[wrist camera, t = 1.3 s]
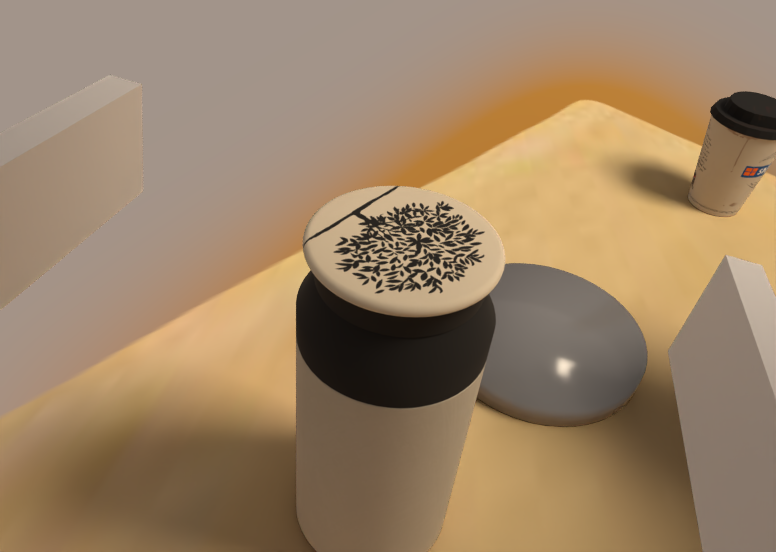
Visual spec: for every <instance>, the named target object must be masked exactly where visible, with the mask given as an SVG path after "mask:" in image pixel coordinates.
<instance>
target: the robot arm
mask: <svg viewBox="0 0 776 552" xmlns="http://www.w3.org/2000/svg"><path fill="white" fill-rule="evenodd" d="M142 131H143V130H142V84H140V83H136V82H133V81H129V80H126V79H123V78H119V77H116V76H112V75H109V76H107V77H105V78H103V79H101V80H100V81H97V82H96V83H94V84H92V85H90V86H88V87H86V88H84V89H82V90H80V91H78V92H77V93H75V94H73V95H71V96H69V97H67V98H65V99H63V100H61V101H59V102H57V103H56V104H54V105H52V106H50V107H48V108H46V109H44V110H42V111H40V112H39V113H37V114H35V115H33V116H31V117H29V118H27V119H25V120H23V121H21V122H20V123H18V124H16V125H14V126H12V127H10V128H8V129H6V130H4V131H2V132H1V133H0V310H1V309H2V308H4V307H5V306H6V305H7V304H8V303H10V302H11V301H12V300H13V299H14V298H16V297H17V296H18V295H19V294H20V293H22V292H23V291H24V290H25V289H26V288H28V287H29V286H30V285H31V284H32V283H33V282H35V281H36V280H37V279H38V278H40V277H41V276H42V275H43V274H44V273H46V272H47V271H48V270H49V269H50V268H52V267H53V266H54V265H55V264H56V263H58V262H59V261H60V260H61V259H62V258H63V257H65V256H66V255H67V254H68V253H70V252H71V251H72V250H73V249H74V248H76V247H77V246H78V245H79V244H80V243H81V242H83V241H84V240H85V239H86V238H88V237H89V236H90V235H91V234H92V233H94V232H95V231H96V230H97V229H98V228H100V227H101V226H102V225H103V224H104V223H106V222H107V221H108V220H109V219H110V218H112V217H113V216H114V215H115V214H116V213H118V212H119V211H120V210H121V209H122V208H123V207H125V206H126V205H127V204H128V203H129V202H131V201H132V200H133V199H134V198H136V197H137V196H138V195H139V194H140V193H142V192H143V138H142V137H143V132H142ZM668 355H669V360H670V366H671V372H672V378H673V383H674V389H675V395H676V401H677V407H678V412H679V418H680V424H681V430H682V435H683V441H684V447H685V453H686V459H687V464H688V470H689V476H690V482H691V487H692V493H693V499H694V505H695V511H696V516H697V522H698V528H699V534H700V539H701V545H702V551H703V552H776V297H775V295H774V292H773V290H772V287H771V285H770V283H769V280H768V278H767V276H766V273H765V271H764V269H763V266H762V265H759V264H756V263H752V262H749V261H745V260H742V259H738V258H735V257H732V256H728V255H725V257H724V258H723V260H722V262H721V263H720V265H719V267H718V268H717V270H716V272H715V273H714V275H713V277H712V278H711V280H710V282H709V283H708V285H707V287H706V288H705V290H704V292H703V293H702V295H701V297H700V298H699V300H698V302H697V303H696V305H695V307H694V308H693V310H692V312H691V313H690V315H689V317H688V318H687V320H686V322H685V323H684V325H683V327H682V328H681V330H680V332H679V333H678V335H677V337H676V338H675V340H674V342H673V343H672V345H671V347H670V348H669V350H668Z"/></svg>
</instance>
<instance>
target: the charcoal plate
mask: <svg viewBox="0 0 776 552" xmlns="http://www.w3.org/2000/svg"><path fill="white" fill-rule="evenodd" d="M489 295H490V297H491V299H492V302H493V305H494V308H495V314H496V325H495V330H494V334H493V338H492V342H491V346H490V349H489V353H488V357H487V361H486V364H485V368H484V372H483V376H482V379H481V383H480V387H479V391H478V394H477V398H478V399H479V400H481V401H482V402H484V403H485V404H487V405H488V406H490V407H492V408H494V409H496V410H498V411H500V412H502V413H504V414H507V415H509V416H512V417H514V418H517V419H520V420H524V421H527V422H530V423H536V424H541V425H547V426H559V427H564V426H580V425H587V424H591V423H594V422H598V421H601V420H603V419H606V418H608V417H610V416H612V415H614V414H615V413H617V412H618V411H620V410H621V409H622V408H623V407H624V406H625V405H626V404H627V403H628V402H629V401H630V399H631V398H632V397H633V395H634V393H635V391H636V389H637V387H638V385H639V383H640V381H641V379H642V377H643V375H644V373H645V370H646V365H647V348H646V342H645V339H644V337H643V334H642V332H641V330H640V328H639V326H638V324H637V323H636V321H635V320H634V318H633V317H632V316H631V314H630V313H629V312H628V311H627V310H626V309H625V307H624V306H623V305H621V304H620V303H619V302H618V301H617V300H616V299H615V298H614V297H612V296H611V295H610V294H608V293H607V292H606V291H604V290H603V289H601V288H600V287H598V286H596V285H595V284H593V283H591V282H589V281H587V280H585V279H583V278H581V277H578V276H576V275H574V274H571V273H568V272H565V271H562V270H559V269H555V268H551V267H547V266H541V265H535V264H524V263H511V264H505V267H504V271H503V274H502V277H501V278H500V280H499V282H498V284H497V285H496V286H495V288H494V289H493V290H492V291H491V292H490V293H489Z"/></svg>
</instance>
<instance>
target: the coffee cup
mask: <svg viewBox="0 0 776 552" xmlns="http://www.w3.org/2000/svg"><path fill="white" fill-rule="evenodd" d="M710 112H711V114H712V115H711V119H710V122H709V125H708V129H707V132H706V135H705V139H704V143H703V146H702V149H701V153H700V156H699V159H698V163H697V166H696V170H695V173H694V177H693V180H692V183H691V187H690V190H689V194H688V199H689V201H690V202H691V204H692V205H693V206H695V207H696V208H698V209H699V210H701V211H703V212H705V213H708V214H711V215H714V216H721V217H729V216H733V215H735V214H736V213H737V212H738V211H739V209H740V208H741V207H742V205H743V204H744V202H745V201H746V199H747V198H748V197H749V195H750V194H751V192H752V191H753V189H754V188H755V186H756V185H757V184H758V182H759V181H760V179H761V178H762V176H763V175H764V173H765V172H766V170H767V169H768V168H769V166H770V165H771V163H772V162H773V160H774V159H775V157H776V99H775V98H772V97H769V96H767V95H763V94H759V93H754V92H737V93H734V94H733V95H731V96H730V97H727V98H723V99H720V100H719V101H717V102H716V103H715V104H714V105H713V106H712V107H711V111H710Z"/></svg>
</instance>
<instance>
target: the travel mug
mask: <svg viewBox="0 0 776 552" xmlns="http://www.w3.org/2000/svg"><path fill="white" fill-rule="evenodd" d="M303 252H304V256H305V259H306V262H307V264H308V266H309V268H310V269H311V271H310V272H309V273H308V275H307V276H306V277H305V279H304V280H303V282H302V284H301V286H300V288H299V291H298V294H297V300H296V511H297V517H298V522H299V525H300V528H301V530H302V532H303V534H304V536H305V537H306V539H307V541H308V542H309V543H310V545H311V546H312V547H313V548H314V549H315V550H316V551H317V552H428V550H429V549H430V548H431V547H432V546H433V544H434V543H435V541H436V540H437V538H438V536H439V534H440V531H441V529H442V526H443V522H444V518H445V514H446V511H447V507H448V503H449V499H450V496H451V492H452V488H453V484H454V481H455V477H456V473H457V469H458V466H459V462H460V458H461V454H462V451H463V447H464V443H465V439H466V436H467V432H468V428H469V424H470V421H471V417H472V413H473V409H474V406H475V402H476V398H477V394H478V391H479V387H480V383H481V379H482V376H483V372H484V368H485V364H486V361H487V357H488V353H489V349H490V346H491V342H492V338H493V334H494V330H495V325H496V314H495V308H494V305H493V302H492V299H491V297H490V295H489V293H490V292H491V291H492V290H493V289H494V288H495V286H496V285H497V284H498V282H499V280H500V278H501V277H502V274H503V271H504V267H505V251H504V247H503V243H502V241H501V239H500V237H499V235H498V233H497V232H496V230H495V229H494V228H493V226H492V225H491V224H490V223H489V222H488V221H487V220H486V219H485V218H484V217H483V216H482V215H481V214H479V213H478V212H477V211H475V210H474V209H472V208H471V207H469V206H468V205H466V204H464V203H462V202H460V201H458V200H456V199H454V198H451V197H449V196H446V195H443V194H440V193H437V192H433V191H430V190H425V189H420V188H414V187H404V186H378V187H370V188H365V189H360V190H356V191H352V192H349V193H346V194H343V195H341V196H339V197H337V198H335V199H333V200H331V201H329V202H328V203H326V204H325V205H324V206H322V207H321V208H320V209H319V210H318V211H317V212H316V213H315V214H314V215H313V217H312V218H311V219H310V221H309V222H308V224H307V226H306V229H305V232H304V236H303Z"/></svg>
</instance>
